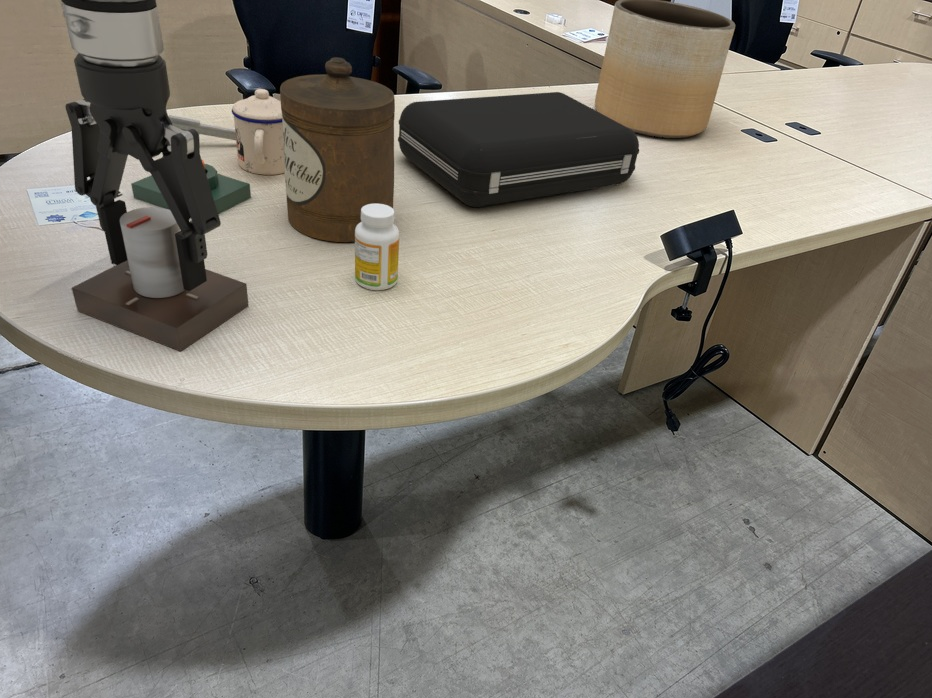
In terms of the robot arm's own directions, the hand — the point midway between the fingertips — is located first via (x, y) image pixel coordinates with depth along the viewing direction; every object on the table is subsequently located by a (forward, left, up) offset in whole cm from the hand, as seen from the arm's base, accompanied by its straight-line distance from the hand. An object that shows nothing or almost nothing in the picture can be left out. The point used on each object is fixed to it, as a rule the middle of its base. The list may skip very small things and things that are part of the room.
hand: (159, 272), depth 80 cm
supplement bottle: (+16, +19, -5) cm, 25 cm away
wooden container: (+3, +31, -5) cm, 32 cm away
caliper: (-27, +42, -5) cm, 50 cm away
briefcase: (+14, +67, -5) cm, 69 cm away
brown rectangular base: (0, 0, -5) cm, 5 cm away
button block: (-17, +24, -5) cm, 30 cm away
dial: (0, 0, -2) cm, 2 cm away
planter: (+29, +114, -5) cm, 118 cm away
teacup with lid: (-16, +39, -5) cm, 42 cm away
